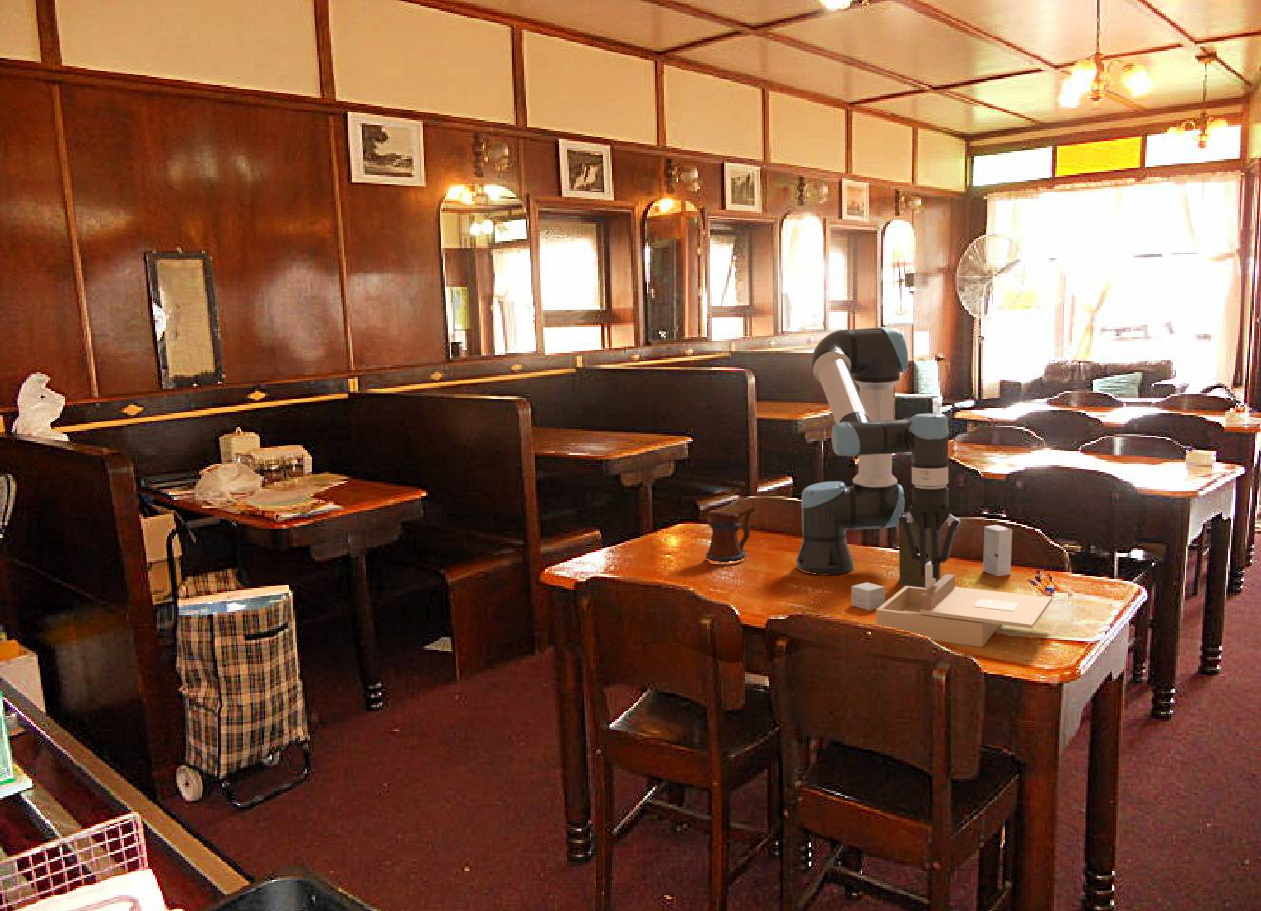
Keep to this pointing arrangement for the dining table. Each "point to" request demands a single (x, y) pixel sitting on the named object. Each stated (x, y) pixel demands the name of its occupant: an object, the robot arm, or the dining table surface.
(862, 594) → the small box
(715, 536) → the mug
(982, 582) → the dining table surface
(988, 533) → the skincare box
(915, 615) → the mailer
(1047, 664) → the dining table surface
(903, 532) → the canister
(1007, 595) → the lid
